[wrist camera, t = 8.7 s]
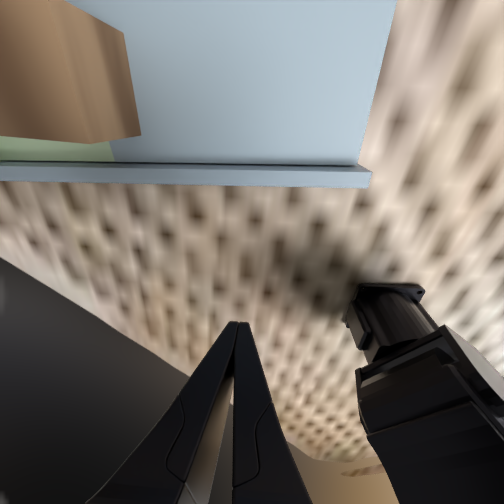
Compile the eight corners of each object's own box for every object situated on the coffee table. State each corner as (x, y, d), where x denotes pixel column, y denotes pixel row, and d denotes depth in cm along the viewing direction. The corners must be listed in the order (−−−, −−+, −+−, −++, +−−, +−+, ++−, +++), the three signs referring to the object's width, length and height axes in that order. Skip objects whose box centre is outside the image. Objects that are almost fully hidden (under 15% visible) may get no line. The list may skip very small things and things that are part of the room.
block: (123, 32, 12) (44, -11, 8) (141, 135, 15) (90, 144, 10) (34, 25, 12) (-91, -22, 8) (68, 128, 15) (-12, 134, 11)
